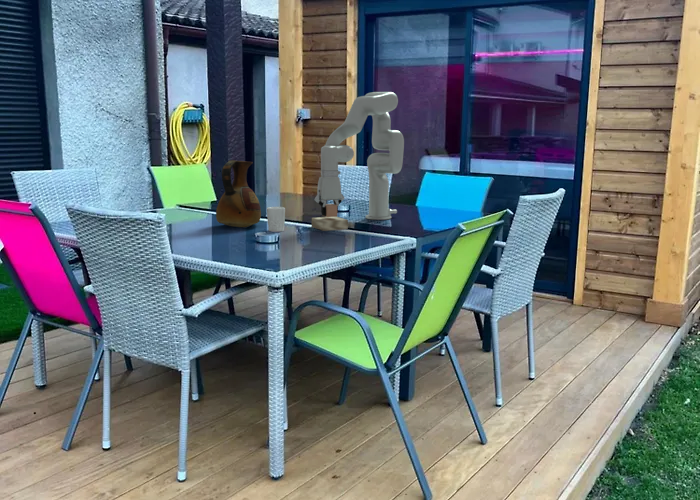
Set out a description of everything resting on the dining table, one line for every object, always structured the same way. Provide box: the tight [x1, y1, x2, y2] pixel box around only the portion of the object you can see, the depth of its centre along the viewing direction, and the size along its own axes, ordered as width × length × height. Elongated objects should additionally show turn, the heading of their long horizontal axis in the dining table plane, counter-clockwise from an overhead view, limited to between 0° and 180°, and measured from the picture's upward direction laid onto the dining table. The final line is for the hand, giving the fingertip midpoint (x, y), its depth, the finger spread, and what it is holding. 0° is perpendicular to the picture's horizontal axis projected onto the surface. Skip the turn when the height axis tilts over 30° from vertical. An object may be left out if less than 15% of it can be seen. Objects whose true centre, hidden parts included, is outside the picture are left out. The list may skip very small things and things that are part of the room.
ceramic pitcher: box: [215, 159, 262, 228], centre depth 300 cm, size 20×20×30 cm
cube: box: [321, 203, 338, 217], centre depth 300 cm, size 5×5×5 cm
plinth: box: [311, 216, 349, 232], centre depth 301 cm, size 12×12×4 cm
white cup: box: [266, 206, 286, 233], centre depth 293 cm, size 8×8×10 cm
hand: (329, 214), depth 300 cm, fingers closed on cube, 4 cm apart
